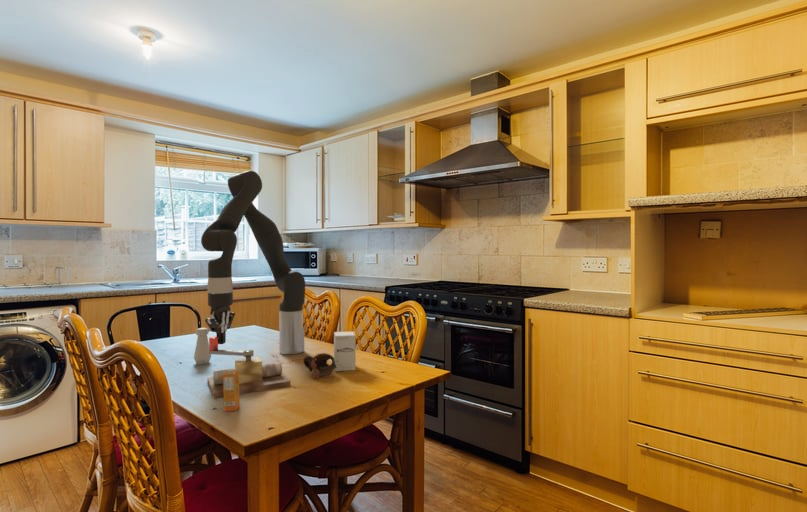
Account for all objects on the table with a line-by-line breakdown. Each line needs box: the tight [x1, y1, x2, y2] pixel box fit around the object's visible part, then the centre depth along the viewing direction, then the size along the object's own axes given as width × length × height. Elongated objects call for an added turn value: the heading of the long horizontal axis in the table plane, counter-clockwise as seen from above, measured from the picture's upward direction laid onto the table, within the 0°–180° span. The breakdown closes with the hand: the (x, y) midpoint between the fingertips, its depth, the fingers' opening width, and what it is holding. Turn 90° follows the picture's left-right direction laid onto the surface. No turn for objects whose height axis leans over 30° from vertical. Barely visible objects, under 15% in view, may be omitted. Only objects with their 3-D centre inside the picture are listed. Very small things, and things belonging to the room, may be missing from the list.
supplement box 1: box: [223, 371, 241, 412], centre depth 113 cm, size 3×4×10 cm
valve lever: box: [208, 336, 255, 358], centre depth 135 cm, size 15×3×5 cm, turn 81°
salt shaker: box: [193, 327, 212, 365], centre depth 157 cm, size 6×6×13 cm
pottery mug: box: [302, 352, 337, 380], centre depth 144 cm, size 12×10×8 cm
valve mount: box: [206, 356, 291, 399], centre depth 134 cm, size 22×16×9 cm
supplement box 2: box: [333, 331, 357, 372], centre depth 152 cm, size 7×7×13 cm
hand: (221, 343), depth 139 cm, fingers closed
